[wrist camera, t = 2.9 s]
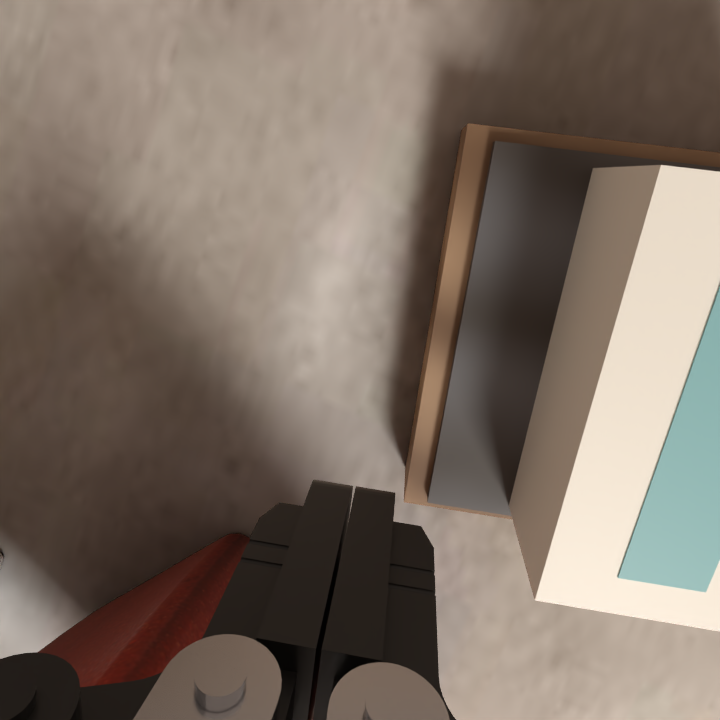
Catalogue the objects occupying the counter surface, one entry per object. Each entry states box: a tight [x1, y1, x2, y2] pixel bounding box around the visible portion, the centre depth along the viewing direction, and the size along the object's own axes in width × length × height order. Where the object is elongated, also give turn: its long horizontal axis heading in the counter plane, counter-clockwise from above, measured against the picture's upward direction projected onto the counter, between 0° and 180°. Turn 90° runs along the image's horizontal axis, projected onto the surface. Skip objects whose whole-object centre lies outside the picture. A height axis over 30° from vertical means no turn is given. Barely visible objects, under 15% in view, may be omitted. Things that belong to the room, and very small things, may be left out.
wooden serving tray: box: [404, 123, 720, 519], centre depth 19 cm, size 16×20×10 cm
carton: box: [509, 165, 720, 631], centre depth 18 cm, size 14×8×6 cm, turn 174°
